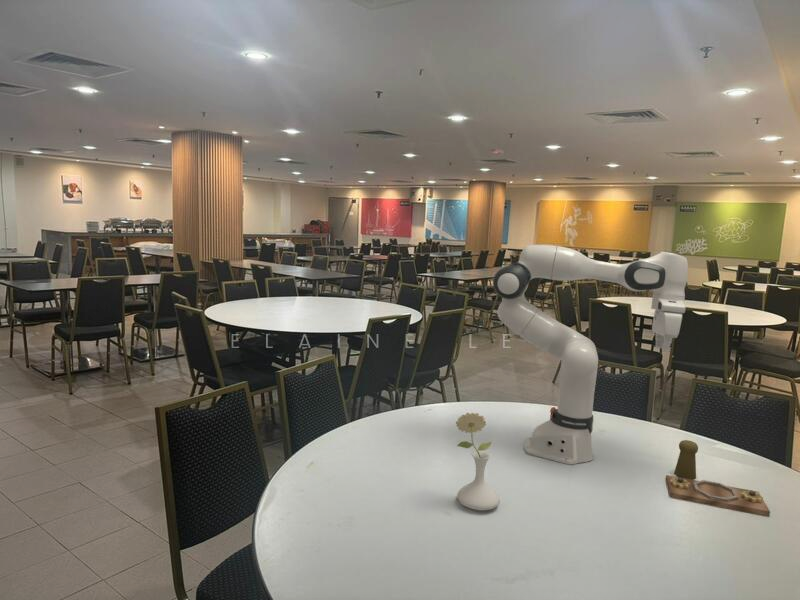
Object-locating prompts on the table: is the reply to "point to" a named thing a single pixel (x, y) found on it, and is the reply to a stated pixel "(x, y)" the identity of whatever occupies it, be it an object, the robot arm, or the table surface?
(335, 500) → the table surface
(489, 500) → the flower in vase
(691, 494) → the gear board
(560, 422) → the robot arm
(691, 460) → the cork
